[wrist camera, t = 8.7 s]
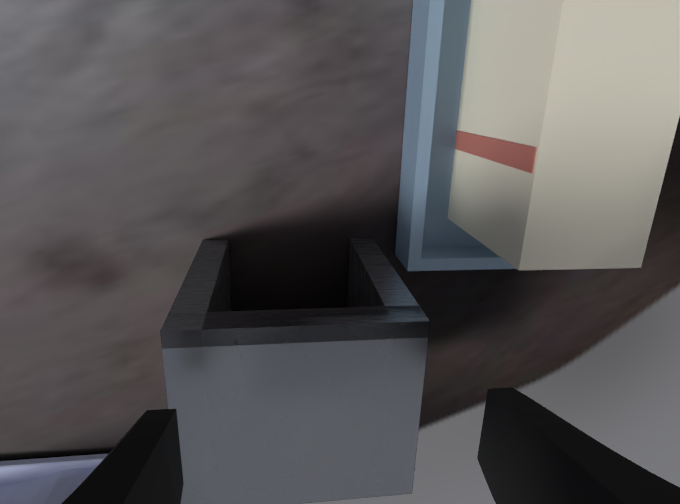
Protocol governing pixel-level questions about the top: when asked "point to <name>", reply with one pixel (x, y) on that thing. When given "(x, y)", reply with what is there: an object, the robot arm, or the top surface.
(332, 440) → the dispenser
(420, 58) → the tray
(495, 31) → the block
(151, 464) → the robot arm
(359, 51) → the top surface
